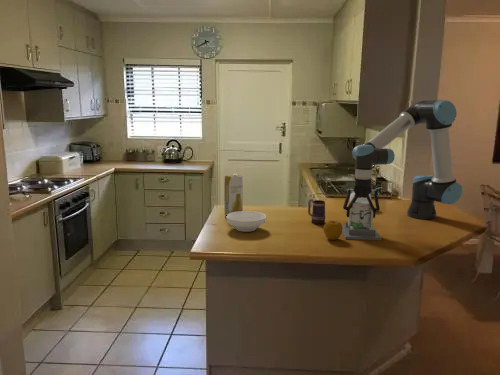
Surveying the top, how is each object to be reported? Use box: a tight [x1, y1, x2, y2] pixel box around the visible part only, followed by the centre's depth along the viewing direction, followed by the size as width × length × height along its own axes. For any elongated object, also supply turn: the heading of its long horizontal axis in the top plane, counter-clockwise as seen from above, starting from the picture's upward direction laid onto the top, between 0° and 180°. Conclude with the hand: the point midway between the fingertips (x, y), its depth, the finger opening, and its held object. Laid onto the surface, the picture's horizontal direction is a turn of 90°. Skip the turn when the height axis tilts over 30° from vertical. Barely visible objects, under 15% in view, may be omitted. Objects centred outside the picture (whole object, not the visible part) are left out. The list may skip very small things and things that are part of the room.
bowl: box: [225, 210, 267, 233], centre depth 197 cm, size 20×20×7 cm
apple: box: [323, 220, 343, 241], centre depth 183 cm, size 9×8×9 cm
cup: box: [349, 191, 372, 203], centre depth 241 cm, size 12×12×10 cm
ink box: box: [350, 201, 372, 228], centre depth 191 cm, size 9×5×12 cm, turn 119°
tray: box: [342, 221, 382, 242], centre depth 193 cm, size 16×20×4 cm
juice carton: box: [223, 173, 244, 216], centre depth 221 cm, size 9×8×24 cm
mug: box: [307, 198, 326, 225], centre depth 211 cm, size 10×7×12 cm
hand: (360, 224), depth 192 cm, fingers closed on ink box, 9 cm apart
